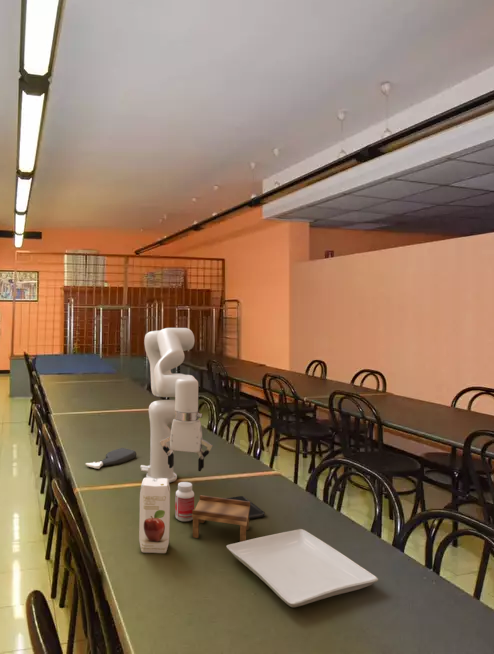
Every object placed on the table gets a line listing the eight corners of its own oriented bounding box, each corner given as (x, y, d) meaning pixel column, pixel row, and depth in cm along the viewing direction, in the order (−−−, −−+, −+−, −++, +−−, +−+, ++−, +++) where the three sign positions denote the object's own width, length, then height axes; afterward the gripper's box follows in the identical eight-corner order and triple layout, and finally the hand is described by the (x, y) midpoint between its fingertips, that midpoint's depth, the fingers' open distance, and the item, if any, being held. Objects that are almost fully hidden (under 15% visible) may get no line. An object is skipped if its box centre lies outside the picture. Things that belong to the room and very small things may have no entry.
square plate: (291, 620, 98) (291, 603, 98) (224, 557, 123) (224, 543, 123) (380, 592, 109) (380, 576, 109) (302, 539, 134) (302, 526, 134)
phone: (245, 516, 146) (223, 498, 160) (245, 519, 146) (223, 501, 160) (266, 513, 149) (243, 495, 163) (266, 516, 149) (243, 498, 163)
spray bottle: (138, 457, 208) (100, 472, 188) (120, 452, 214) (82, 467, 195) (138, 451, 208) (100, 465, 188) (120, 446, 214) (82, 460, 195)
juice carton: (140, 540, 132) (141, 476, 132) (169, 541, 132) (170, 476, 132) (138, 554, 124) (139, 485, 124) (169, 555, 124) (170, 486, 124)
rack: (191, 537, 134) (192, 510, 134) (199, 520, 146) (200, 494, 146) (246, 546, 130) (246, 517, 130) (249, 527, 141) (250, 501, 141)
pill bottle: (197, 519, 146) (198, 485, 146) (182, 523, 143) (183, 489, 143) (186, 512, 151) (186, 479, 151) (171, 516, 148) (172, 483, 148)
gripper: (214, 415, 148) (213, 467, 148) (164, 412, 153) (163, 462, 153) (210, 420, 141) (210, 475, 141) (157, 416, 146) (157, 469, 145)
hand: (185, 468), depth 147 cm, fingers open, 9 cm apart
